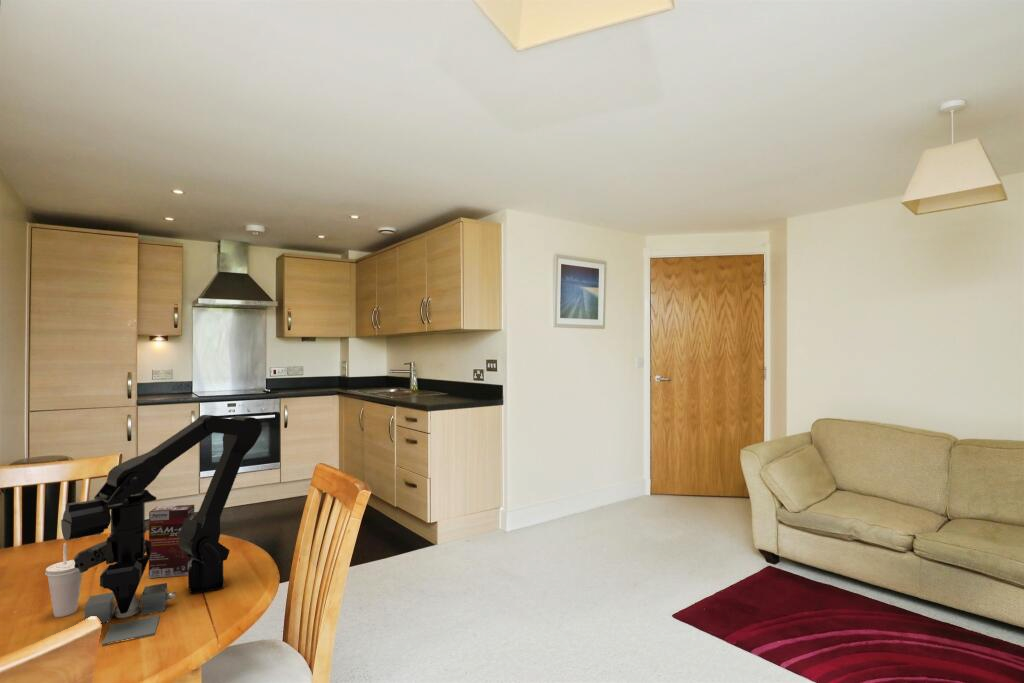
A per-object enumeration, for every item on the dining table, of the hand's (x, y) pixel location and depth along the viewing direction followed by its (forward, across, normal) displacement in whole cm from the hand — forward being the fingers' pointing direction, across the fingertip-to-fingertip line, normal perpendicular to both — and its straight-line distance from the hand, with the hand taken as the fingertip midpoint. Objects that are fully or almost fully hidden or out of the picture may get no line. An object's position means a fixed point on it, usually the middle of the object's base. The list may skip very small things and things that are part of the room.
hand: (127, 603), depth 111 cm
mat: (+2, +9, +2) cm, 9 cm away
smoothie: (+2, -7, -12) cm, 14 cm away
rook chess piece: (+2, 0, 0) cm, 2 cm away
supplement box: (+2, -20, +6) cm, 21 cm away
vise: (+2, 0, 0) cm, 2 cm away
